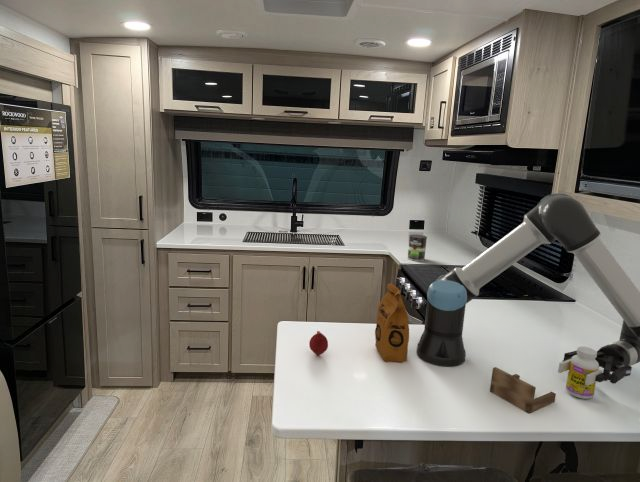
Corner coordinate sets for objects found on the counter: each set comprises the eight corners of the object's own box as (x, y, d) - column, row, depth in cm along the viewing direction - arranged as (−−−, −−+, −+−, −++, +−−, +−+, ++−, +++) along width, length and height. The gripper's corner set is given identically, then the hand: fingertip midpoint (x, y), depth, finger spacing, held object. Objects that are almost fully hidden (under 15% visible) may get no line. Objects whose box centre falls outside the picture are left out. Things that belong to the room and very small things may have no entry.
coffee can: (422, 262, 265) (424, 238, 262) (405, 259, 269) (407, 236, 266) (426, 258, 274) (428, 235, 271) (410, 256, 278) (412, 233, 275)
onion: (327, 351, 144) (328, 327, 142) (327, 359, 138) (329, 335, 136) (308, 350, 143) (309, 327, 142) (308, 359, 138) (310, 334, 136)
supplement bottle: (563, 393, 124) (570, 350, 121) (567, 384, 129) (575, 342, 126) (591, 402, 120) (599, 358, 117) (594, 392, 125) (602, 349, 122)
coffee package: (378, 363, 137) (383, 294, 133) (372, 345, 149) (376, 282, 145) (410, 364, 138) (417, 295, 133) (401, 346, 150) (407, 282, 145)
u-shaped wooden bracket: (489, 391, 124) (492, 368, 122) (514, 381, 130) (518, 359, 128) (529, 413, 114) (533, 388, 113) (554, 402, 120) (558, 378, 118)
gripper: (651, 383, 125) (609, 405, 113) (580, 354, 141) (537, 370, 129) (657, 358, 123) (615, 377, 111) (584, 332, 140) (541, 346, 127)
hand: (573, 374), depth 120 cm, fingers closed on supplement bottle, 7 cm apart
